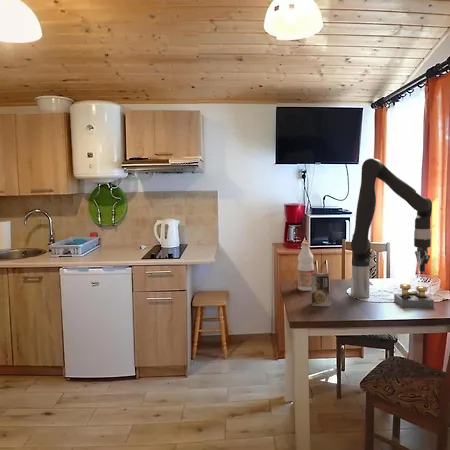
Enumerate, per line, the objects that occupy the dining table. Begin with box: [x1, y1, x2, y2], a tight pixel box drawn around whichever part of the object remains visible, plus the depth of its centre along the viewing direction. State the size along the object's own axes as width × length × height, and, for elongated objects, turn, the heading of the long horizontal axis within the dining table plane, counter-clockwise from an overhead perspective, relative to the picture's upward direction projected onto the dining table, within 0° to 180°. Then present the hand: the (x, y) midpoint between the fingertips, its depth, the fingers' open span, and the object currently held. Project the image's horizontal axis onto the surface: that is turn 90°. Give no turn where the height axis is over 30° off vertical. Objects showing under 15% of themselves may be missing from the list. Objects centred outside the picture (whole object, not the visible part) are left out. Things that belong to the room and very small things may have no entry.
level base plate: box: [393, 290, 435, 309], centre depth 206 cm, size 15×12×6 cm
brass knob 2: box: [415, 285, 428, 298], centre depth 205 cm, size 5×5×7 cm
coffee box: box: [311, 272, 331, 307], centre depth 210 cm, size 9×6×16 cm
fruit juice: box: [297, 241, 315, 292], centre depth 240 cm, size 9×9×28 cm
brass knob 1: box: [399, 283, 412, 298], centre depth 205 cm, size 5×5×7 cm
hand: (422, 271), depth 204 cm, fingers closed
